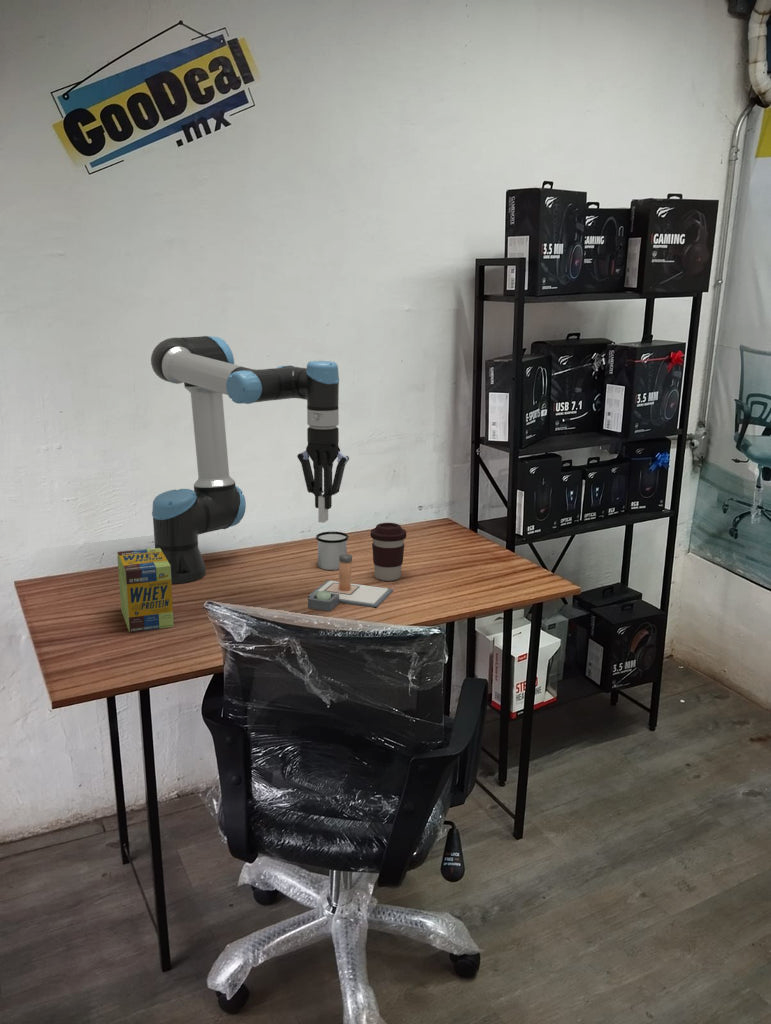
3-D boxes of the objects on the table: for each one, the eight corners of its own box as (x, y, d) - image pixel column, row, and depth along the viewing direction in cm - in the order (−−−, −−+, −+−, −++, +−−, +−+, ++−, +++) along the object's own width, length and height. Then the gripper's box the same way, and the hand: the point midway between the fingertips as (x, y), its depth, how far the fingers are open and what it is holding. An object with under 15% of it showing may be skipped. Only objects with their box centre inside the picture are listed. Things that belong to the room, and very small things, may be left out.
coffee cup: (401, 584, 231) (403, 531, 227) (366, 581, 233) (367, 529, 229) (408, 572, 241) (409, 522, 237) (374, 570, 243) (374, 519, 239)
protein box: (129, 633, 197) (124, 570, 193) (120, 610, 210) (116, 551, 206) (174, 627, 201) (171, 565, 197) (163, 604, 214) (160, 546, 210)
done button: (314, 606, 214) (314, 594, 213) (320, 601, 217) (320, 590, 217) (327, 608, 213) (327, 596, 212) (333, 603, 216) (333, 592, 215)
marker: (336, 590, 223) (337, 557, 221) (339, 586, 226) (340, 553, 224) (349, 591, 223) (350, 558, 220) (352, 587, 226) (353, 554, 223)
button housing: (308, 608, 213) (308, 598, 213) (317, 600, 219) (317, 591, 218) (330, 611, 212) (330, 602, 211) (339, 603, 217) (339, 594, 216)
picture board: (307, 598, 220) (307, 594, 220) (327, 582, 232) (327, 578, 232) (376, 607, 214) (376, 604, 214) (393, 591, 226) (393, 587, 226)
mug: (352, 569, 243) (352, 539, 240) (320, 572, 240) (320, 542, 237) (340, 556, 254) (340, 527, 251) (310, 559, 251) (309, 530, 248)
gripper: (291, 427, 202) (292, 522, 208) (342, 430, 198) (342, 527, 204) (304, 422, 209) (305, 514, 215) (353, 426, 205) (353, 520, 211)
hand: (323, 521), depth 209 cm, fingers closed
